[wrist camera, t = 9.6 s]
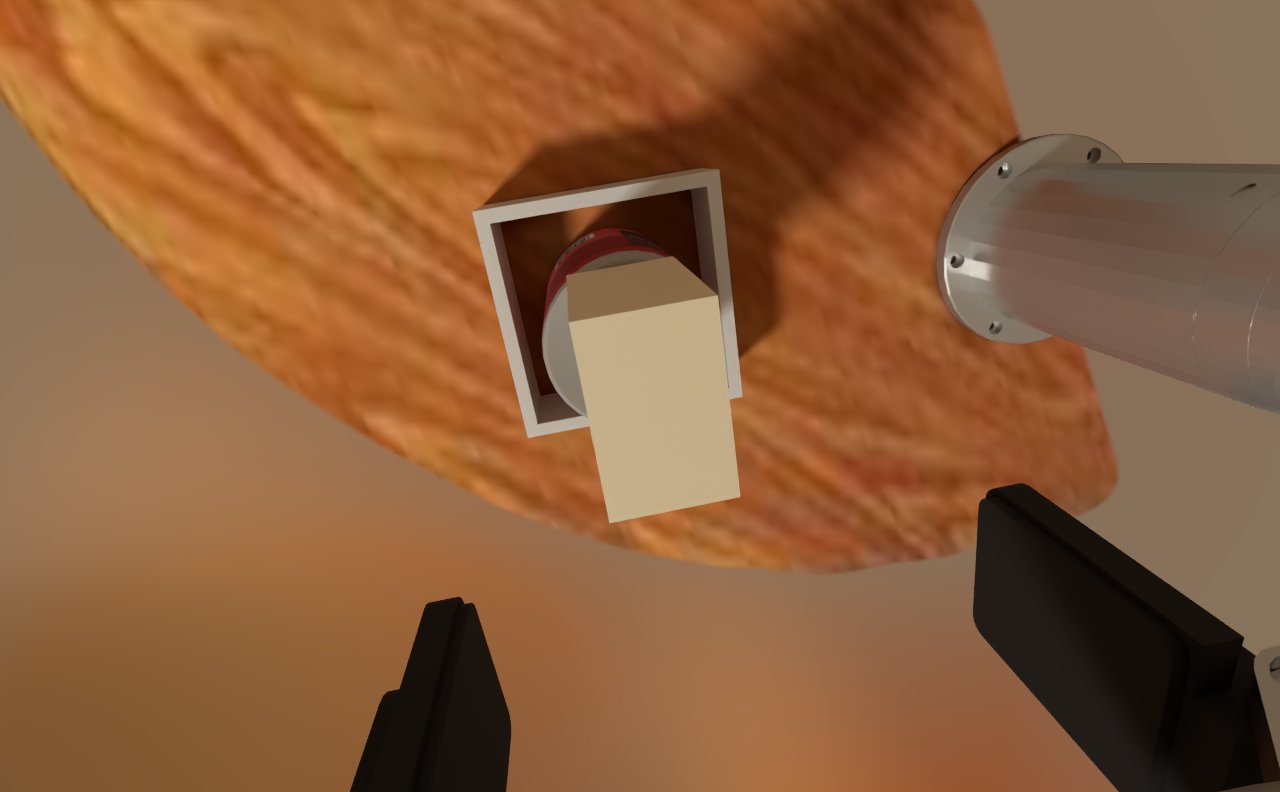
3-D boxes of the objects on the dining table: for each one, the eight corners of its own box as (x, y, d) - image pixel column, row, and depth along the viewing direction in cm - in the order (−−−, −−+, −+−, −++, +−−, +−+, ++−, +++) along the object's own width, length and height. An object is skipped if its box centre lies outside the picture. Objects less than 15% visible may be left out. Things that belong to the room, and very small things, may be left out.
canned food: (538, 348, 38) (531, 418, 28) (556, 214, 35) (554, 237, 25) (660, 365, 39) (696, 438, 29) (686, 237, 37) (735, 267, 26)
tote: (700, 168, 35) (719, 169, 31) (723, 371, 40) (742, 396, 36) (482, 205, 35) (471, 211, 30) (531, 408, 39) (527, 437, 35)
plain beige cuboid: (672, 256, 26) (718, 295, 19) (693, 408, 29) (740, 496, 21) (566, 275, 26) (568, 322, 18) (596, 427, 28) (609, 523, 21)
